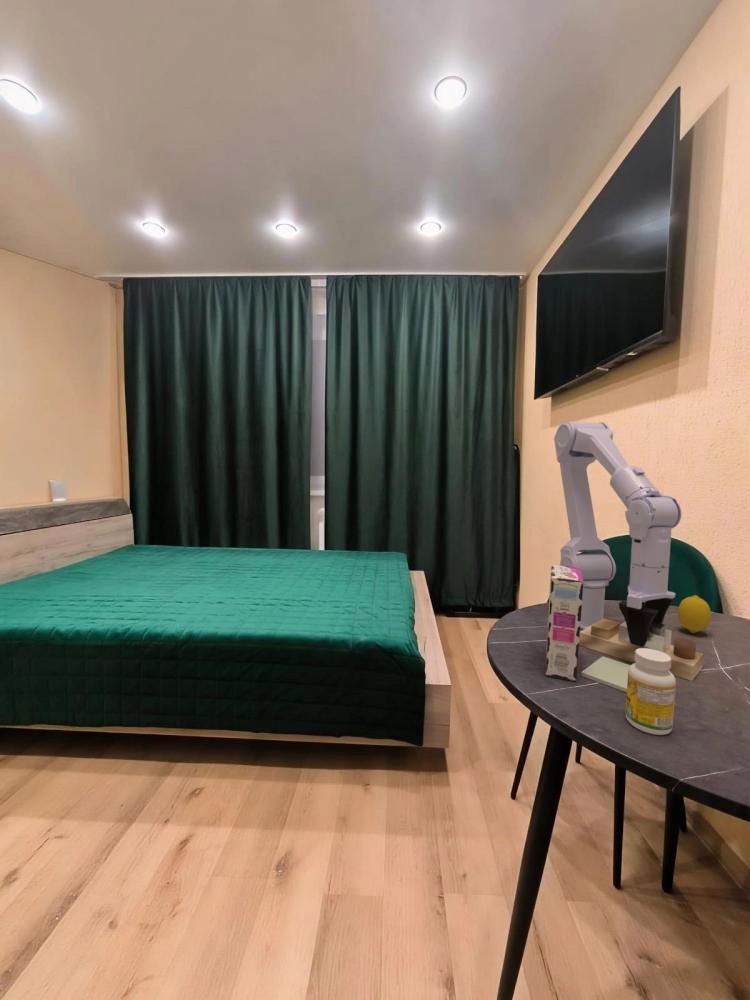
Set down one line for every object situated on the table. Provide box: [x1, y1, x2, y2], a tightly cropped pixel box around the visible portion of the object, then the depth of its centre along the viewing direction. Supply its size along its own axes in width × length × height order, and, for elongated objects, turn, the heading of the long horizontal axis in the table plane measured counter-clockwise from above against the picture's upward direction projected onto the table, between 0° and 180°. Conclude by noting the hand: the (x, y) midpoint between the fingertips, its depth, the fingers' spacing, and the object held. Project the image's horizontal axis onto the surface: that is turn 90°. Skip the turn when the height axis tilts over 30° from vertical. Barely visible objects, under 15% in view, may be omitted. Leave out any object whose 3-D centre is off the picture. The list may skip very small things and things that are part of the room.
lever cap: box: [618, 621, 673, 653], centre depth 77 cm, size 7×4×4 cm, turn 42°
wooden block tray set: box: [579, 617, 705, 682], centre depth 78 cm, size 18×7×5 cm, turn 42°
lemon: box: [677, 595, 712, 634], centre depth 89 cm, size 6×6×8 cm
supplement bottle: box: [625, 648, 677, 736], centre depth 57 cm, size 5×5×10 cm
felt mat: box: [580, 656, 632, 693], centre depth 70 cm, size 9×9×1 cm
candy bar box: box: [544, 564, 583, 682], centre depth 73 cm, size 11×5×16 cm, turn 158°
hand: (644, 639), depth 77 cm, fingers open, 7 cm apart
